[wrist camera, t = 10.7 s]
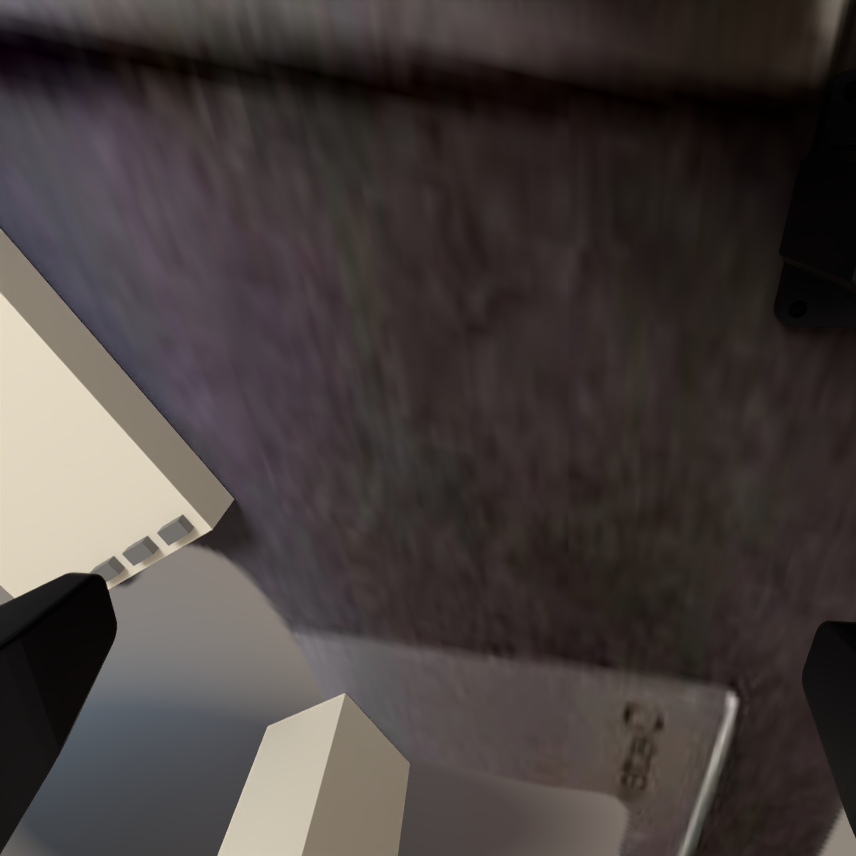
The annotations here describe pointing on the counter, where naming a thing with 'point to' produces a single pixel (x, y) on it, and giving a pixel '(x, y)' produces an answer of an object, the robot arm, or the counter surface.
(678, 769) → the counter surface
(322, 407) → the counter surface
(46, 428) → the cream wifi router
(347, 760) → the cream box
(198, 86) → the counter surface
